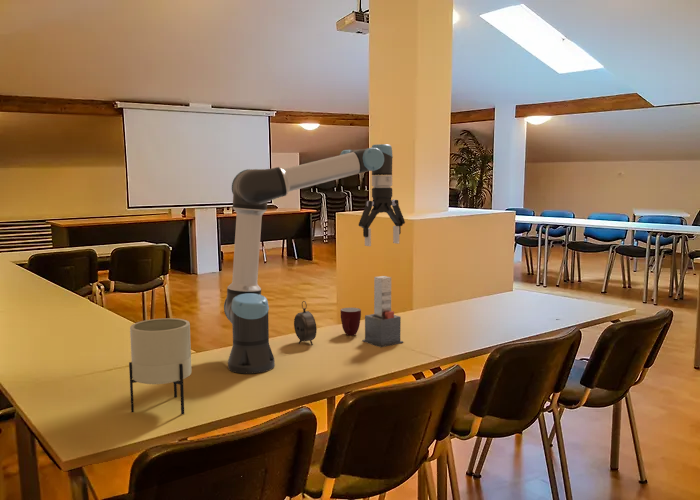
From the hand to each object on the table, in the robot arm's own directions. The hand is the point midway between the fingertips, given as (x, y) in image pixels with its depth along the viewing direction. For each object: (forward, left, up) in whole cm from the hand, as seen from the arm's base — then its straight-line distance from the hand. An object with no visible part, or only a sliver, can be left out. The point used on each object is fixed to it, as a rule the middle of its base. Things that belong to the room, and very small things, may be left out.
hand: (382, 244), depth 227 cm
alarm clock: (-25, +16, -37) cm, 47 cm away
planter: (-90, -16, -37) cm, 99 cm away
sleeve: (0, 0, -37) cm, 37 cm away
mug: (-4, +15, -37) cm, 40 cm away
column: (0, 0, -37) cm, 37 cm away
